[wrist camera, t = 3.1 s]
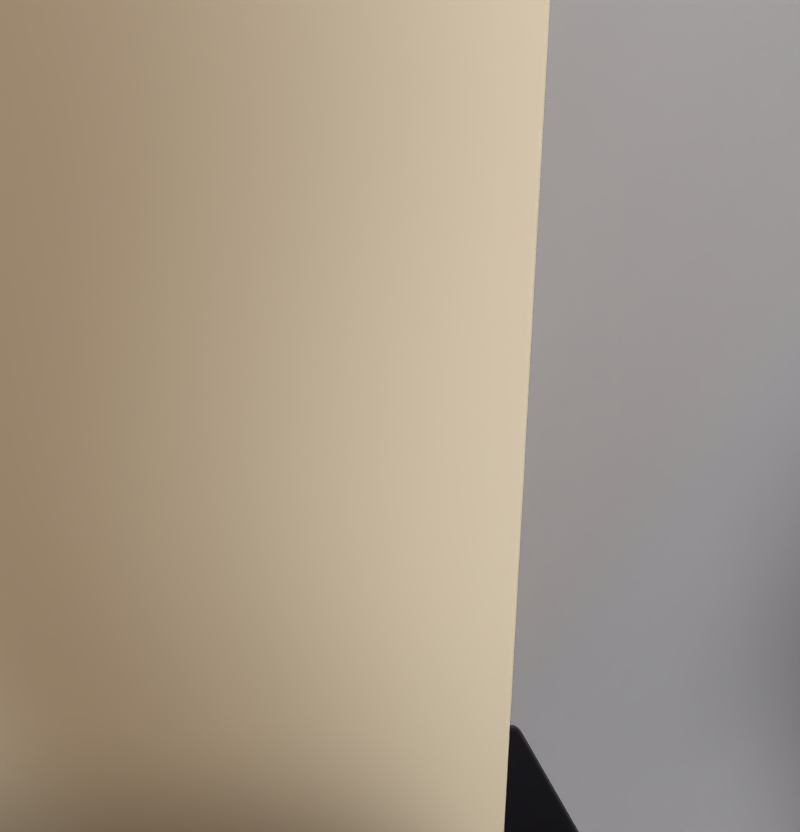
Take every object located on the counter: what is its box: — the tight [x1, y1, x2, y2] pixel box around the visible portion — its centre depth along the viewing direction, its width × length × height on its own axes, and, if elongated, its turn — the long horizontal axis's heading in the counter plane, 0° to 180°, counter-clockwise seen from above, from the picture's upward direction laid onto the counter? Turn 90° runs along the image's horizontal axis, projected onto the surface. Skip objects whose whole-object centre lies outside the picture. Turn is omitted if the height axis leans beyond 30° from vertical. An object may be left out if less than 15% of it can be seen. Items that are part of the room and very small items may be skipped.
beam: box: [0, 0, 550, 832], centre depth 8 cm, size 4×16×4 cm, turn 1°
